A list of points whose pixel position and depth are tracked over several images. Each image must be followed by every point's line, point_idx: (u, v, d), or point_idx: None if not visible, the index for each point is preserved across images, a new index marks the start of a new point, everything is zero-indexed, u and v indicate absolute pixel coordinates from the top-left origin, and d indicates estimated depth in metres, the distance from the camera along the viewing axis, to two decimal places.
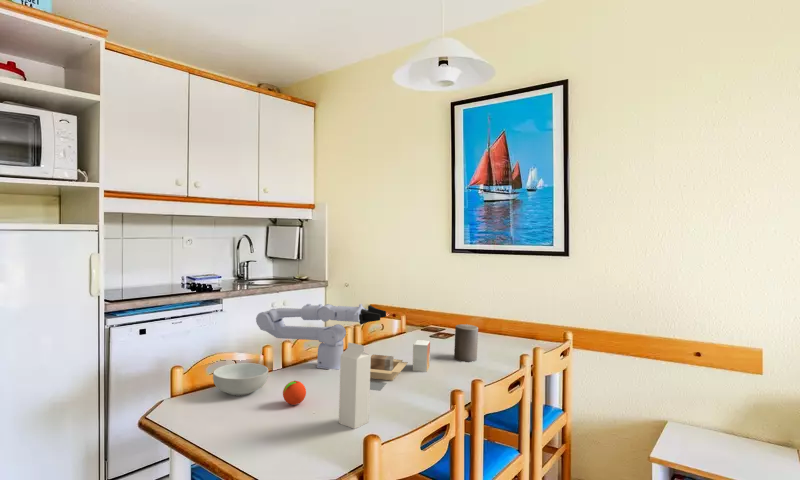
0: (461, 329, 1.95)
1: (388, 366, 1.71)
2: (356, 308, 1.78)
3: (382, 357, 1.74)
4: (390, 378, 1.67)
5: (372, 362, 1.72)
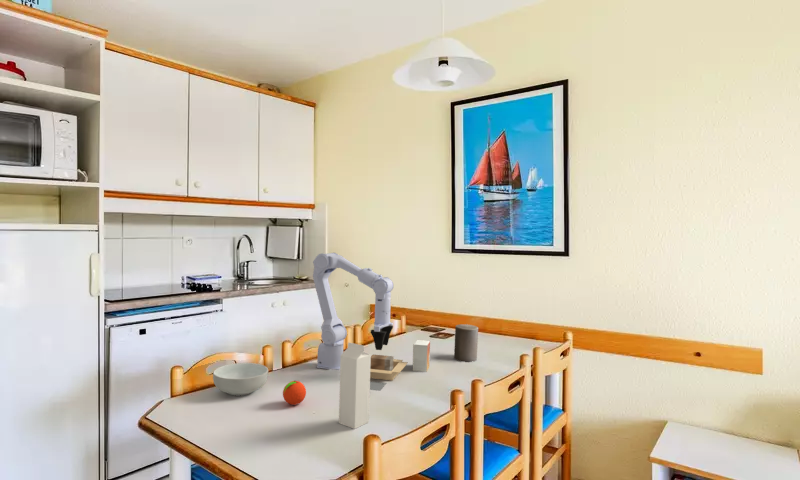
0: (461, 329, 1.95)
1: (388, 366, 1.71)
2: (387, 321, 1.72)
3: (382, 357, 1.74)
4: (390, 378, 1.67)
5: (372, 362, 1.72)
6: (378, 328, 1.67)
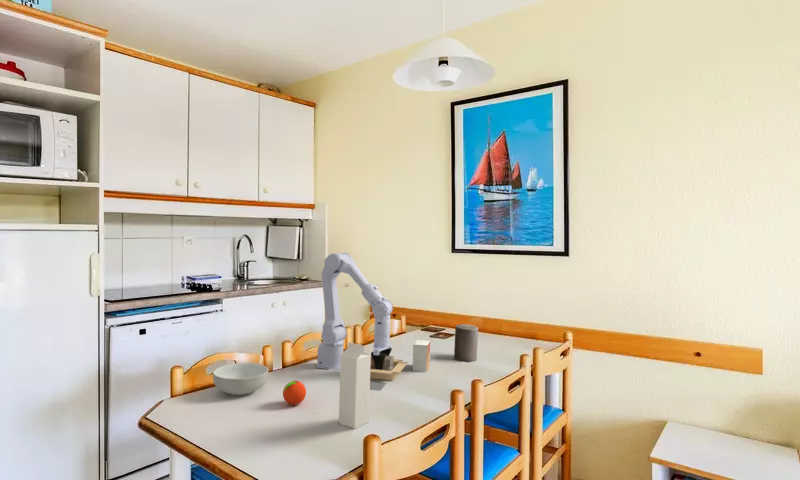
0: (461, 329, 1.95)
1: (388, 366, 1.71)
2: (387, 344, 1.72)
3: None
4: (390, 378, 1.67)
5: (372, 362, 1.72)
6: (377, 352, 1.67)
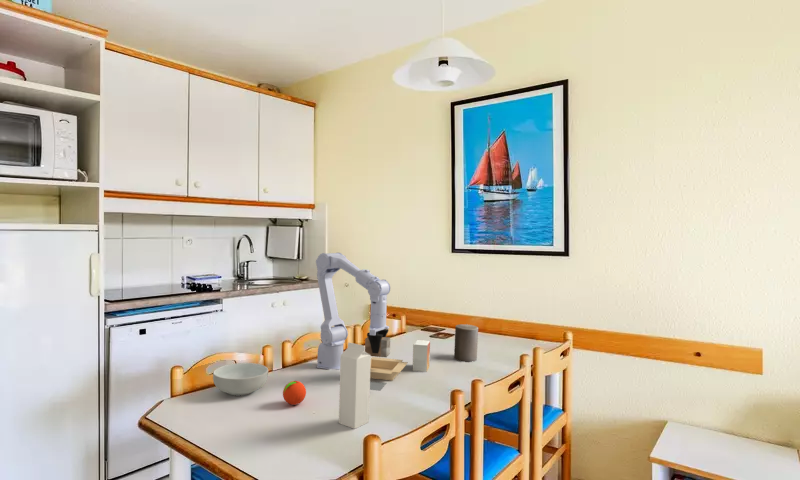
0: (461, 329, 1.95)
1: (385, 347, 1.67)
2: (383, 324, 1.68)
3: None
4: (390, 378, 1.67)
5: (368, 343, 1.68)
6: (374, 332, 1.62)
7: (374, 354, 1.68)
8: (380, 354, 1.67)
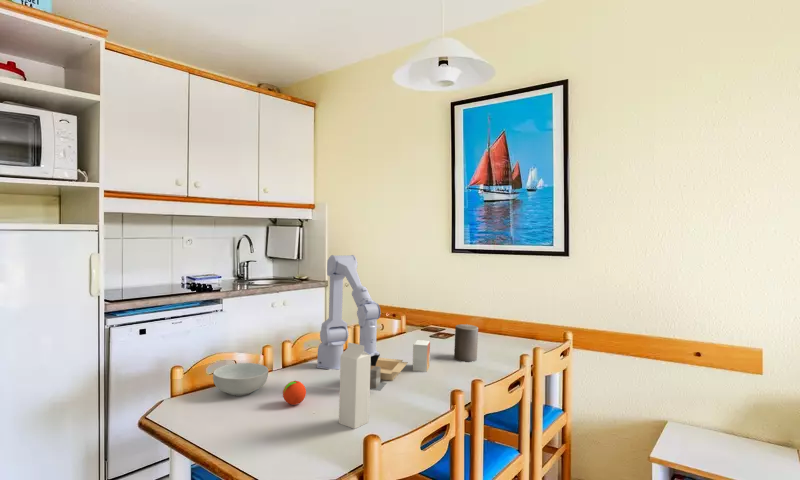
0: (461, 329, 1.95)
1: (374, 377, 1.58)
2: (373, 350, 1.59)
3: None
4: (390, 378, 1.67)
5: None
6: None
7: None
8: (370, 385, 1.58)
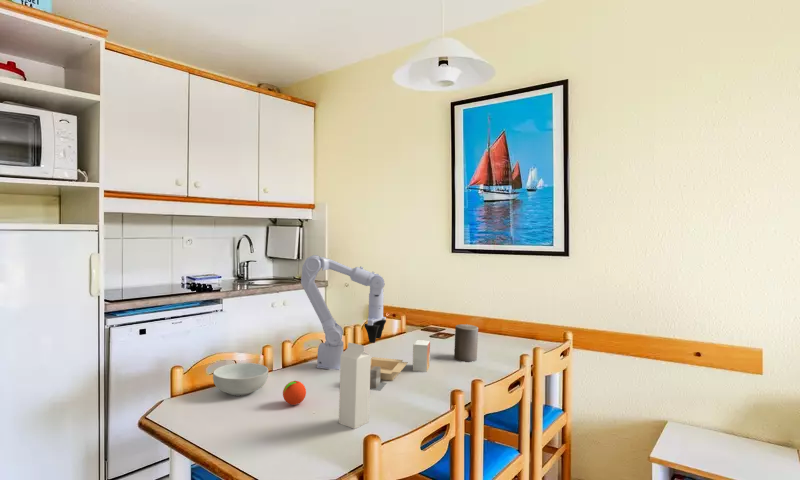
0: (461, 329, 1.95)
1: (374, 377, 1.58)
2: (380, 315, 1.81)
3: None
4: (390, 378, 1.67)
5: None
6: (371, 322, 1.76)
7: None
8: (370, 385, 1.58)
